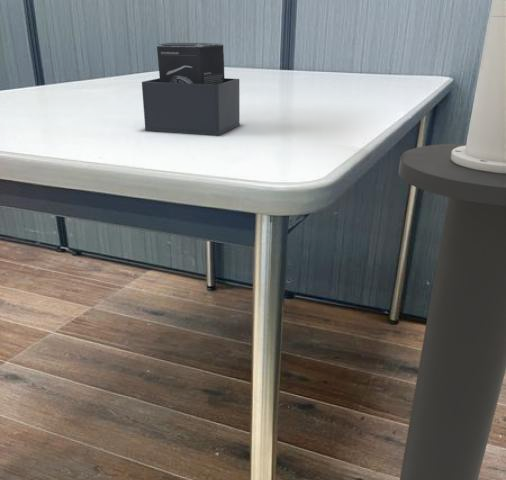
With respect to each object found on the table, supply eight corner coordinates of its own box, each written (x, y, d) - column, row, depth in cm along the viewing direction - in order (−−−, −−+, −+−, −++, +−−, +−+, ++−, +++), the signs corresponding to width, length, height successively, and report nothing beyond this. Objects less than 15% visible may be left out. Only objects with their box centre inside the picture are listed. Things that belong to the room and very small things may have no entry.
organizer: (239, 125, 90) (239, 78, 87) (219, 135, 82) (218, 85, 79) (171, 121, 92) (168, 76, 89) (145, 130, 85) (141, 81, 82)
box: (227, 124, 87) (225, 43, 82) (203, 129, 83) (201, 44, 78) (185, 119, 91) (181, 41, 86) (160, 124, 87) (155, 42, 82)
